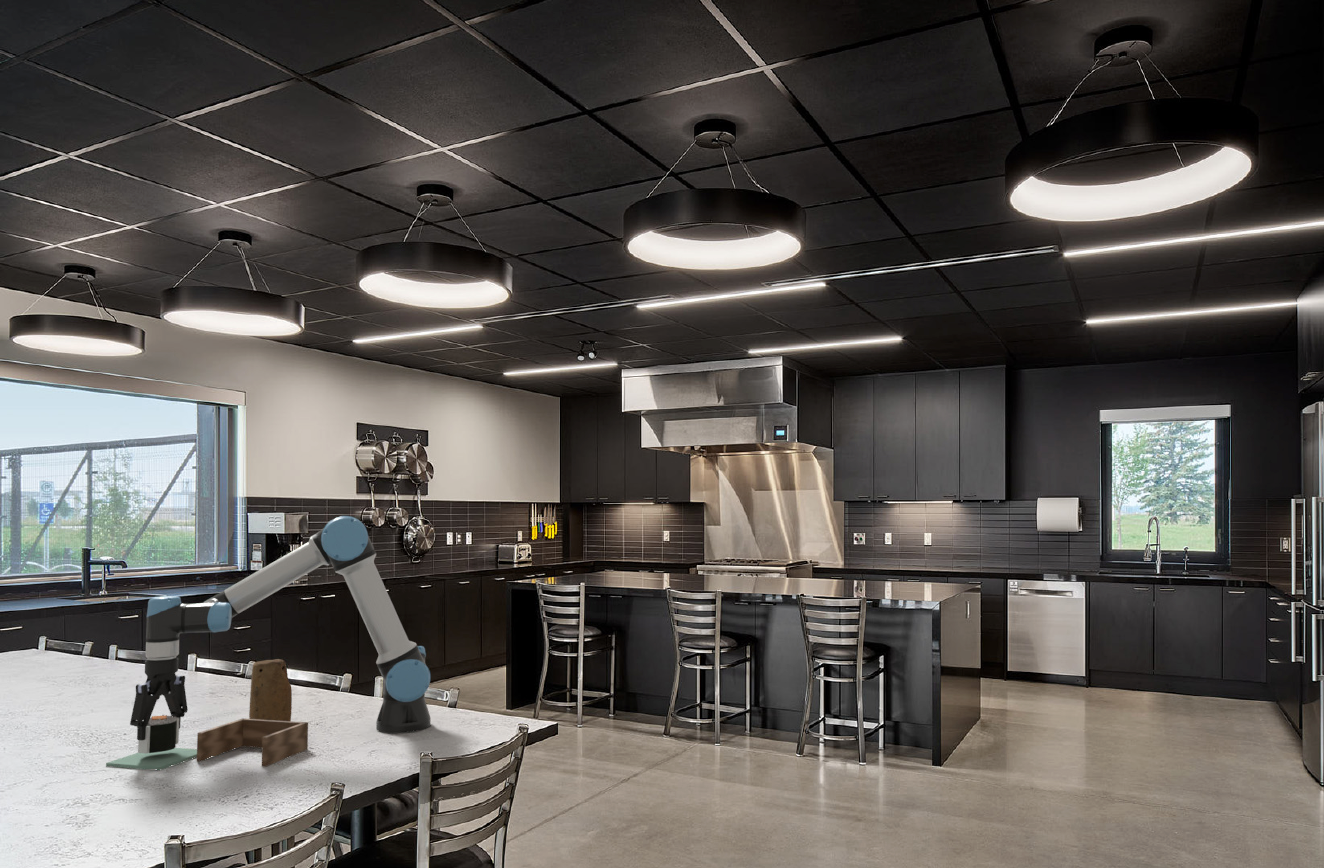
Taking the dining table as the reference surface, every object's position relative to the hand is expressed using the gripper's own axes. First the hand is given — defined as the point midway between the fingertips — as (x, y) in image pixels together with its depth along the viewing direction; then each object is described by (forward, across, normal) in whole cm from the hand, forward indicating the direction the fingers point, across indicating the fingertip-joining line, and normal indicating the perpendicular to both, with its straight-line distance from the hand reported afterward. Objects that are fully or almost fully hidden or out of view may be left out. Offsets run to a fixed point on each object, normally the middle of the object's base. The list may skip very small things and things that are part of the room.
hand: (158, 747), depth 230 cm
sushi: (0, 0, 0) cm, 0 cm away
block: (+3, -32, +8) cm, 33 cm away
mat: (+3, 0, 0) cm, 3 cm away
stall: (+3, -9, +21) cm, 23 cm away
